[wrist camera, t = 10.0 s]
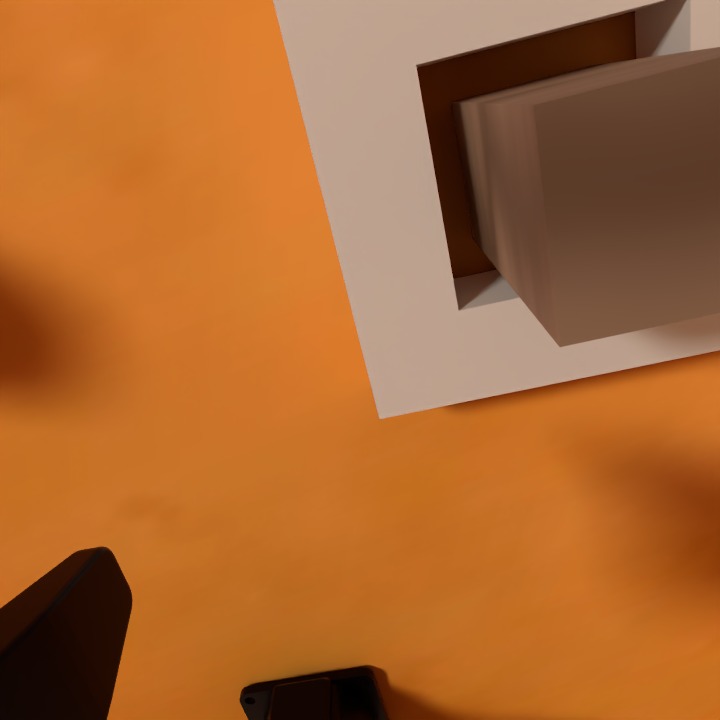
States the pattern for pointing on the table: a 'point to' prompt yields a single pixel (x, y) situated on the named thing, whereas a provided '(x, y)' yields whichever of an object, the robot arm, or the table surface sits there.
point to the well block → (421, 199)
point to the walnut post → (601, 192)
